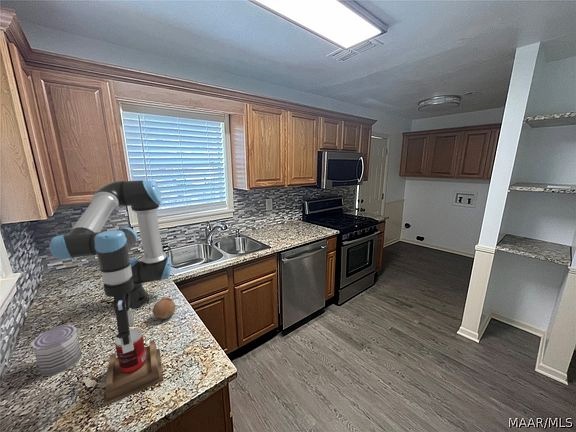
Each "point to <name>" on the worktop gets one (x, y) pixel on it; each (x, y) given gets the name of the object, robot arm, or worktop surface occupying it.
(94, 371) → the worktop surface
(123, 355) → the canned food
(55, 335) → the can
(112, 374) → the brown square tray
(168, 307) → the onion
